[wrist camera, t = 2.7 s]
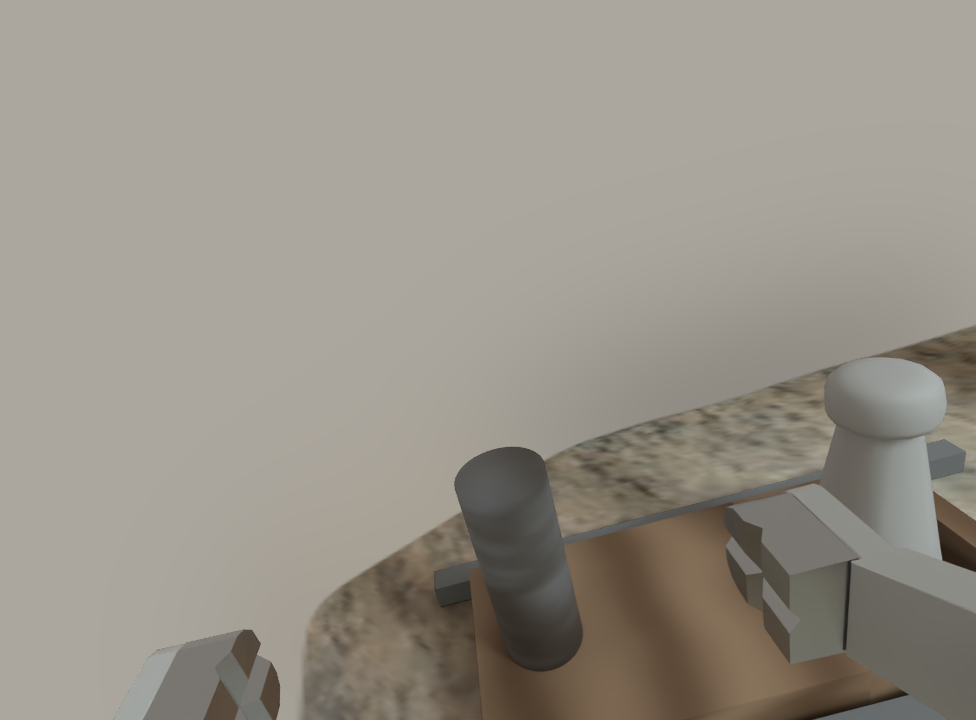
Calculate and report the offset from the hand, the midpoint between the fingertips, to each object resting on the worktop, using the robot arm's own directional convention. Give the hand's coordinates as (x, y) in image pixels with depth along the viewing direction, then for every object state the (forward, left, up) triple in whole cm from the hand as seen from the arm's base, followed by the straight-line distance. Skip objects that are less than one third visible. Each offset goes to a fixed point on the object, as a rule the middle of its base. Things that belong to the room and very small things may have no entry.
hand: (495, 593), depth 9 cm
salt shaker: (-19, +9, -19) cm, 29 cm away
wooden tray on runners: (-15, +2, -19) cm, 25 cm away
